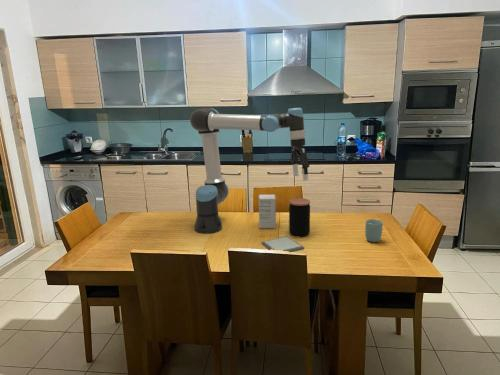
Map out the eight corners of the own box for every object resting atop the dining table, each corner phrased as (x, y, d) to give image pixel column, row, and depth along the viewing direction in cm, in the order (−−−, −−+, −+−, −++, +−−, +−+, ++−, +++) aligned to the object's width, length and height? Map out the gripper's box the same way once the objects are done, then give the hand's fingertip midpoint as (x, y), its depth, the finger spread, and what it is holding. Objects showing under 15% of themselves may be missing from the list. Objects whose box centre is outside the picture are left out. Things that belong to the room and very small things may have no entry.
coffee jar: (311, 231, 196) (312, 199, 192) (306, 238, 187) (306, 204, 182) (292, 228, 200) (293, 197, 196) (286, 235, 191) (286, 202, 187)
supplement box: (276, 228, 202) (275, 198, 198) (259, 228, 202) (258, 199, 198) (275, 222, 211) (275, 194, 207) (259, 222, 211) (258, 194, 207)
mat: (261, 243, 182) (261, 241, 182) (287, 238, 188) (287, 235, 188) (276, 255, 169) (276, 252, 168) (303, 249, 175) (303, 246, 174)
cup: (373, 245, 177) (374, 225, 175) (361, 239, 184) (362, 220, 182) (384, 241, 181) (386, 222, 178) (372, 236, 188) (374, 218, 185)
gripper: (314, 139, 180) (317, 181, 185) (295, 135, 204) (298, 173, 209) (299, 141, 179) (303, 183, 183) (282, 137, 202) (286, 175, 207)
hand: (300, 178), depth 196 cm, fingers open, 13 cm apart
